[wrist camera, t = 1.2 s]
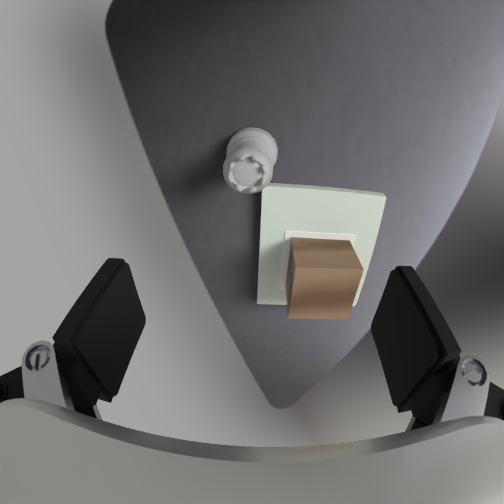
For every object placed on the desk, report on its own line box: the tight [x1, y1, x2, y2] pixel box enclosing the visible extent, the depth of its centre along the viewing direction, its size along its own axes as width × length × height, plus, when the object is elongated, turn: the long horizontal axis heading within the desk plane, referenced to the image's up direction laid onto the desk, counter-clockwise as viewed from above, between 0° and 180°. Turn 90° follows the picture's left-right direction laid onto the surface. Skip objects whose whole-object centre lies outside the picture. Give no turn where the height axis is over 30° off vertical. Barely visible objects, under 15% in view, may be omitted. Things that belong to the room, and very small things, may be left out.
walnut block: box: [285, 237, 364, 319], centre depth 26 cm, size 6×6×5 cm
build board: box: [257, 183, 386, 306], centre depth 28 cm, size 14×12×1 cm
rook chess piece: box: [223, 127, 278, 194], centre depth 20 cm, size 4×4×8 cm
